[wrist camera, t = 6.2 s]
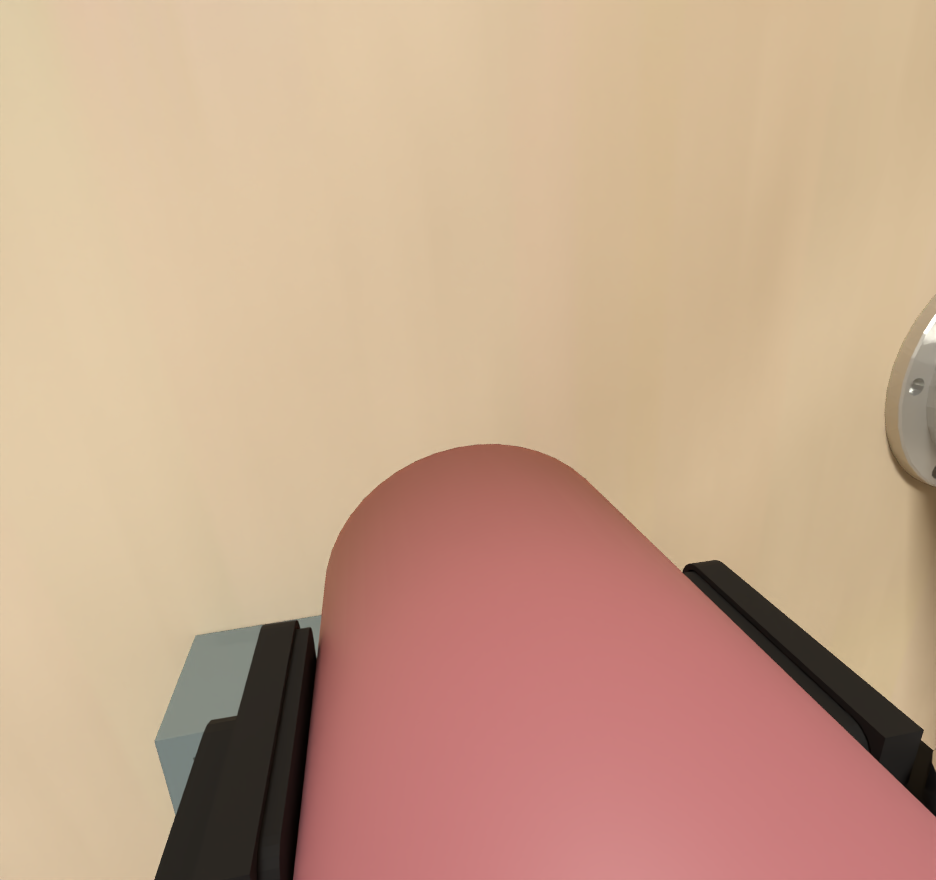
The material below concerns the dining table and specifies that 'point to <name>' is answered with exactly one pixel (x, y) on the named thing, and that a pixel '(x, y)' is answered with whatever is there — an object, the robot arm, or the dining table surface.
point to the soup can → (564, 705)
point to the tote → (207, 696)
